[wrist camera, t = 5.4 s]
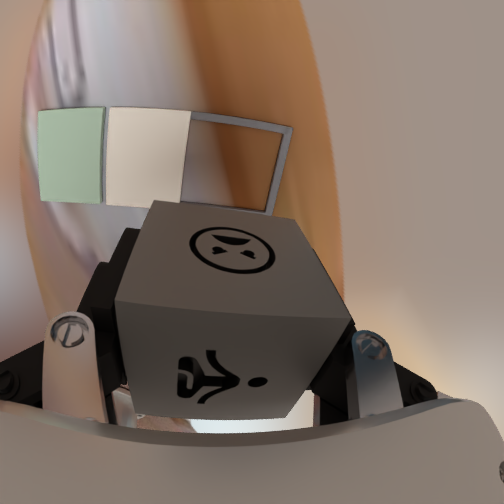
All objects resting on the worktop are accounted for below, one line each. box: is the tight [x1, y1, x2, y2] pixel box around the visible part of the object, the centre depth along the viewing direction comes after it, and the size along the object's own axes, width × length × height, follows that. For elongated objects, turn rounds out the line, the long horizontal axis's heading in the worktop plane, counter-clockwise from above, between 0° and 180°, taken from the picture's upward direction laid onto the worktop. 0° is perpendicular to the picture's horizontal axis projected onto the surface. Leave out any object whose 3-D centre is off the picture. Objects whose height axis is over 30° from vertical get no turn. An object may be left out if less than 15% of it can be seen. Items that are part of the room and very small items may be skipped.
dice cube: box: [115, 200, 351, 420], centre depth 9 cm, size 5×5×5 cm
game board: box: [38, 107, 293, 216], centre depth 20 cm, size 8×21×1 cm, turn 79°
